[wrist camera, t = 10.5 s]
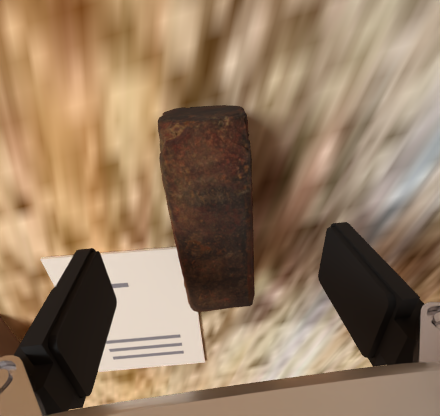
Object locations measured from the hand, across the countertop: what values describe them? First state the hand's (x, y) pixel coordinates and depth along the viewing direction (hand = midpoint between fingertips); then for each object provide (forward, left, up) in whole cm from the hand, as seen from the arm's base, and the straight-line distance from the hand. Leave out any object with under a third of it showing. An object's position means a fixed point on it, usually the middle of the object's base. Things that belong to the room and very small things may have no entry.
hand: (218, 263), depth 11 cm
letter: (+7, +11, -6) cm, 14 cm away
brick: (0, 0, -7) cm, 7 cm away
